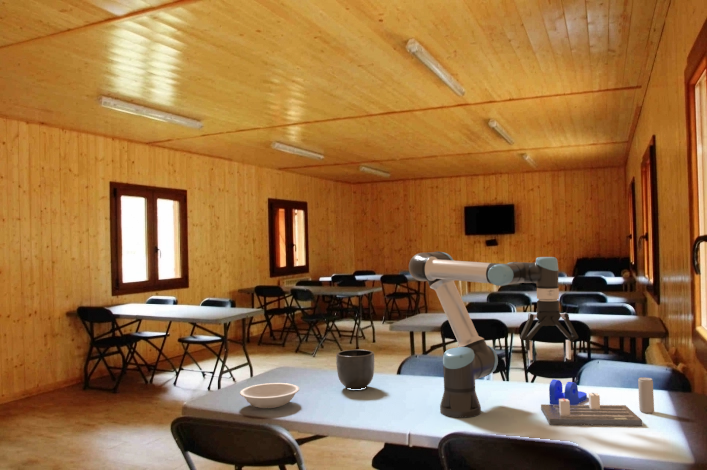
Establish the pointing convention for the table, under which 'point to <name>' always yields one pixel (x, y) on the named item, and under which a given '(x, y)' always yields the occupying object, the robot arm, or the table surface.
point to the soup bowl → (269, 394)
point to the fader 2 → (594, 401)
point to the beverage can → (646, 395)
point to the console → (592, 415)
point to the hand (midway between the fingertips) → (549, 359)
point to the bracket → (565, 393)
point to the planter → (355, 368)
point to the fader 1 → (564, 406)
